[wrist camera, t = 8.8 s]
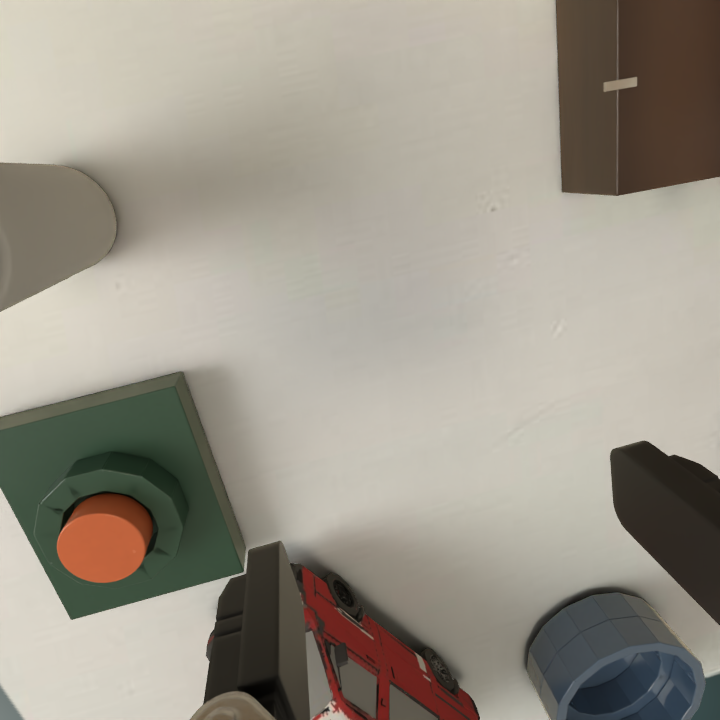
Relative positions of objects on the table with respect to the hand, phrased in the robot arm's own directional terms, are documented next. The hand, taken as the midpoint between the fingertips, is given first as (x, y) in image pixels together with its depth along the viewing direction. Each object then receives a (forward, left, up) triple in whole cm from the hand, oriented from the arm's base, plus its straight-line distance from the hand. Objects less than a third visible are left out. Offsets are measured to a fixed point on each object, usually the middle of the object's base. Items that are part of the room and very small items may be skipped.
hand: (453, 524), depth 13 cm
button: (-3, -16, -14) cm, 21 cm away
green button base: (-3, -15, -18) cm, 24 cm away
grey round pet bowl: (+30, -6, -18) cm, 36 cm away
